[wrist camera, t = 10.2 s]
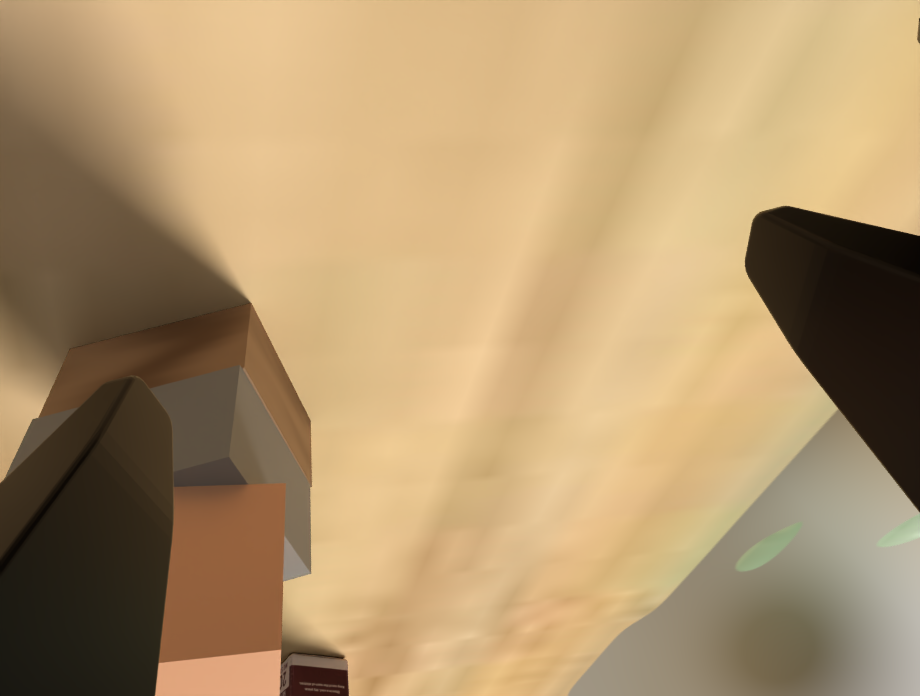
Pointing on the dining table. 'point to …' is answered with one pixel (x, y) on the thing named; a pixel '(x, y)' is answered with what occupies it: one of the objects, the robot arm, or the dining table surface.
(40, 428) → the tower top
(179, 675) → the terracotta cube
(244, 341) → the tower base
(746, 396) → the dining table surface
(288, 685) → the supplement box
